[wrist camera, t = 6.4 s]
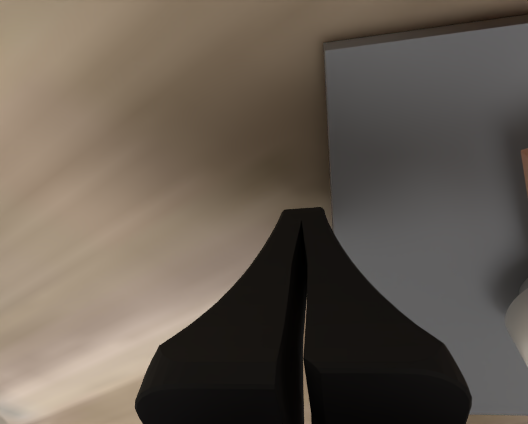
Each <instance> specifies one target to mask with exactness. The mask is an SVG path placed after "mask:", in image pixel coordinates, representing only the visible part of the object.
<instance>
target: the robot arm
mask: <svg viewBox="0 0 528 424" xmlns="http://www.w3.org/2000/svg"><path fill="white" fill-rule="evenodd" d="M306 299H307V310H306ZM305 311H306V329H305V344H304V356H303V334H304V323H305ZM303 359H304V366H305V373H306V380H307V387H308V394H309V401H310V408H311V422H312V424H466V422H467V419H468V416H469V413H470V410H471V407H472V396H471V393H470V390H469V387H468V385H467V383H466V380H465V378H464V376H463V374H462V373H461V371H460V369H459V367H458V365H457V363H456V362H455V360H454V358H453V356H452V355H451V353H450V352H449V350H448V348H447V347H446V345H445V344H444V343H443V342H441V341H440V340H438V339H437V338H435V337H434V336H432V335H431V334H430V333H428V332H427V331H425V330H424V329H422V328H421V327H419V326H418V325H417V324H415V323H414V322H413V321H412V320H410V319H409V318H408V317H407V316H405V315H404V314H403V313H402V312H400V311H399V310H398V309H397V308H396V307H395V306H394V305H393V304H392V303H390V302H389V301H388V300H387V299H386V298H385V297H384V296H383V295H382V294H381V293H380V292H379V291H378V290H377V289H376V288H375V287H374V286H373V285H372V284H371V283H370V282H369V281H368V280H367V279H366V278H365V276H364V275H363V274H362V273H361V272H360V271H359V269H358V268H357V267H356V266H355V264H354V263H353V262H352V260H351V259H350V258H349V256H348V255H347V254H346V252H345V251H344V249H343V248H342V246H341V244H340V243H339V241H338V240H337V238H336V236H335V235H334V233H333V231H332V229H331V227H330V225H329V223H328V220H327V218H326V215H325V211H324V209H323V208H321V207H316V208H301V209H286V210H284V211H283V212H282V213H281V216H280V218H279V220H278V222H277V224H276V226H275V228H274V230H273V232H272V233H271V235H270V237H269V238H268V240H267V242H266V243H265V245H264V247H263V248H262V250H261V251H260V253H259V254H258V255H257V257H256V258H255V260H254V261H253V263H252V264H251V265H250V267H249V268H248V269H247V270H246V272H245V273H244V274H243V275H242V277H241V278H240V279H239V280H238V281H237V282H236V283H235V285H234V286H233V287H232V288H231V289H230V290H229V291H228V292H227V293H226V294H225V295H224V296H223V297H222V298H221V299H220V300H219V301H218V302H217V303H216V304H215V305H213V306H212V307H211V308H210V309H209V310H208V311H206V312H205V313H204V314H203V315H202V316H200V317H199V318H198V319H197V320H195V321H194V322H193V323H192V324H190V325H189V326H188V327H186V328H185V329H183V330H182V331H180V332H179V333H177V334H176V335H174V336H173V337H172V338H170V339H169V340H167V341H166V342H164V343H163V344H161V345H159V347H158V349H157V351H156V353H155V355H154V357H153V359H152V360H151V363H150V365H149V367H148V369H147V372H146V374H145V377H144V379H143V382H142V385H141V387H140V390H139V392H138V395H137V398H136V400H135V409H136V412H137V414H138V416H139V418H140V420H141V421H142V423H143V424H304V398H303Z"/></svg>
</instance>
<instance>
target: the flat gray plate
mask: <svg viewBox="0 0 528 424" xmlns="http://www.w3.org/2000/svg"><path fill="white" fill-rule="evenodd" d="M323 46H324V66H325V86H326V106H327V126H328V145H329V165H330V185H331V205H332V225H333V233H334V235H335V236H336V238H337V240H338V241H339V243H340V244H341V246H342V248H343V249H344V251H345V252H346V254H347V255H348V256H349V258H350V259H351V260H352V262H353V263H354V264H355V266H356V267H357V268H358V269H359V271H360V272H361V273H362V274H363V275H364V276H365V278H366V279H367V280H368V281H369V282H370V283H371V284H372V285H373V286H374V287H375V288H376V289H377V290H378V291H379V292H380V293H381V294H382V295H383V296H384V297H385V298H386V299H387V300H388V301H389V302H390V303H392V304H393V305H394V306H395V307H396V308H397V309H398V310H399V311H400V312H402V313H403V314H404V315H405V316H407V317H408V318H409V319H410V320H412V321H413V322H414V323H415V324H417V325H418V326H419V327H421V328H422V329H424V330H425V331H427V332H428V333H430V334H431V335H432V336H434V337H435V338H437V339H438V340H440V341H441V342H443V343H444V344H445V345H446V347H447V348H448V350H449V352H450V353H451V355H452V356H453V358H454V360H455V362H456V363H457V365H458V367H459V369H460V371H461V373H462V374H463V376H464V378H465V380H466V383H467V385H468V387H469V390H470V393H471V396H472V407H471V410H470V413H469V414H479V415H527V416H528V367H527V365H526V363H525V361H524V360H523V358H522V356H521V354H520V352H519V350H518V349H517V347H516V345H515V343H514V341H513V339H512V338H511V336H510V334H509V332H508V330H507V328H506V325H505V315H506V312H507V310H508V308H509V306H510V304H511V303H512V302H513V300H514V299H515V298H516V297H517V296H518V295H519V294H521V293H522V292H523V291H524V290H526V289H527V288H528V196H527V189H526V183H525V176H524V170H523V163H522V157H521V150H523V149H526V148H528V15H520V16H513V17H506V18H499V19H492V20H485V21H477V22H470V23H463V24H456V25H449V26H441V27H434V28H427V29H420V30H413V31H406V32H398V33H391V34H384V35H377V36H370V37H362V38H355V39H348V40H341V41H334V42H327V43H323Z"/></svg>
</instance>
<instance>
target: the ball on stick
mask: <svg viewBox="0 0 528 424" xmlns="http://www.w3.org/2000/svg"><path fill="white" fill-rule="evenodd" d="M521 157H522V163H523V170H524V176H525V183H526V189H527V196H528V148H526V149H523V150H521ZM505 325H506V328H507V330H508V332H509V334H510V336H511V338H512V339H513V341H514V343H515V345H516V347H517V349H518V350H519V352H520V354H521V356H522V358H523V360H524V361H525V363H526V365H527V367H528V288H527V289H526V290H524V291H523V292H522V293H521V294H519V295H518V296H517V297H516V298H515V299H514V300H513V302H512V303H511V304H510V306H509V308H508V310H507V312H506V315H505Z"/></svg>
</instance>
